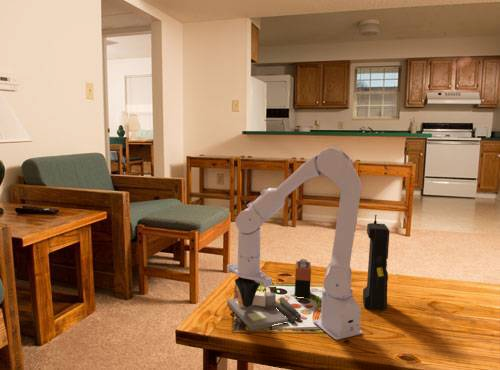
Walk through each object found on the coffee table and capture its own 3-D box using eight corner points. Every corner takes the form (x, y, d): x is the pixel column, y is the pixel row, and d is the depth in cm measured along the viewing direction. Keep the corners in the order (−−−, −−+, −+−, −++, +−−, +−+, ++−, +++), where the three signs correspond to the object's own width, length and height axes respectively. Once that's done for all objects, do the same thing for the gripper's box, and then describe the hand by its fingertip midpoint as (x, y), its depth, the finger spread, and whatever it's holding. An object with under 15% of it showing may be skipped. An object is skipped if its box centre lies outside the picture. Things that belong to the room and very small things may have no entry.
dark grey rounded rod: (301, 320, 100) (302, 314, 100) (296, 321, 100) (296, 315, 100) (283, 301, 111) (283, 296, 111) (278, 302, 111) (278, 296, 110)
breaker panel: (291, 322, 99) (291, 317, 99) (251, 330, 94) (251, 325, 94) (262, 298, 113) (262, 293, 113) (227, 304, 109) (227, 298, 108)
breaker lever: (273, 308, 103) (274, 295, 103) (237, 302, 106) (238, 289, 106) (276, 304, 106) (277, 291, 105) (241, 298, 109) (241, 285, 108)
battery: (309, 290, 119) (310, 258, 118) (309, 299, 113) (311, 266, 111) (294, 289, 120) (296, 257, 119) (294, 298, 113) (295, 265, 112)
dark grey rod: (297, 323, 99) (297, 317, 98) (292, 324, 98) (292, 318, 98) (268, 298, 113) (268, 293, 112) (263, 299, 112) (263, 294, 112)
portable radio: (388, 312, 106) (394, 221, 102) (364, 310, 107) (370, 220, 104) (384, 300, 113) (390, 215, 110) (362, 298, 114) (367, 214, 111)
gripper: (280, 258, 99) (278, 309, 100) (240, 245, 109) (239, 292, 110) (261, 264, 94) (259, 318, 95) (221, 250, 104) (220, 299, 106)
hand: (247, 305), depth 103 cm, fingers closed
